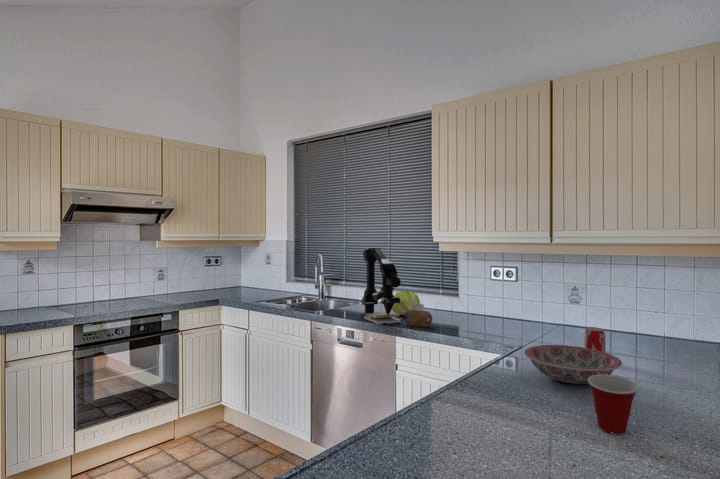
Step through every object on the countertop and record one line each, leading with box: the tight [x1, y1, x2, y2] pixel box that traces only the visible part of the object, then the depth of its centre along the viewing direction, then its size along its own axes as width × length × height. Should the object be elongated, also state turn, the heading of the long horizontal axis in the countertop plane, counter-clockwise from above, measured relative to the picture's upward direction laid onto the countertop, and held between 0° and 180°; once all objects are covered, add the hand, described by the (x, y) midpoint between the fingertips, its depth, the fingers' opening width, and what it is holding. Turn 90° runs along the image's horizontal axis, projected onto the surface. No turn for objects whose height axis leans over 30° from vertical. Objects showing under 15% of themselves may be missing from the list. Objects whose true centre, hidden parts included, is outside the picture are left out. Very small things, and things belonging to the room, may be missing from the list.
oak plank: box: [368, 312, 401, 318], centre depth 243 cm, size 14×13×2 cm
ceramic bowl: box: [523, 344, 623, 385], centre depth 144 cm, size 29×29×8 cm
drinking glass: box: [412, 303, 425, 311], centre depth 238 cm, size 7×7×10 cm
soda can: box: [584, 326, 606, 353], centre depth 167 cm, size 7×7×12 cm
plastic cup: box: [588, 374, 639, 434], centre depth 107 cm, size 11×11×12 cm
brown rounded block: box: [403, 310, 433, 328], centre depth 230 cm, size 15×3×8 cm, turn 62°
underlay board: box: [363, 311, 402, 325], centre depth 245 cm, size 18×14×3 cm
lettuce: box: [391, 290, 421, 316], centre depth 259 cm, size 17×24×14 cm
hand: (387, 314), depth 238 cm, fingers closed
